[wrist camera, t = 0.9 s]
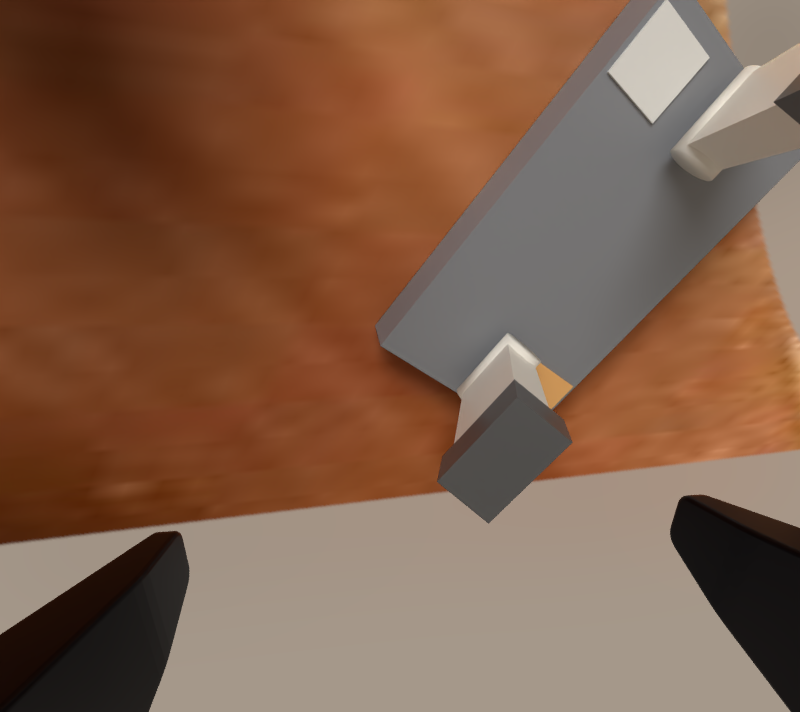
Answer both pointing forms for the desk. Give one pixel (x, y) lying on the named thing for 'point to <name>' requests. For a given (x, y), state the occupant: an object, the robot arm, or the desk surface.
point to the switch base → (586, 211)
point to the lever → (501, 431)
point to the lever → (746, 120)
